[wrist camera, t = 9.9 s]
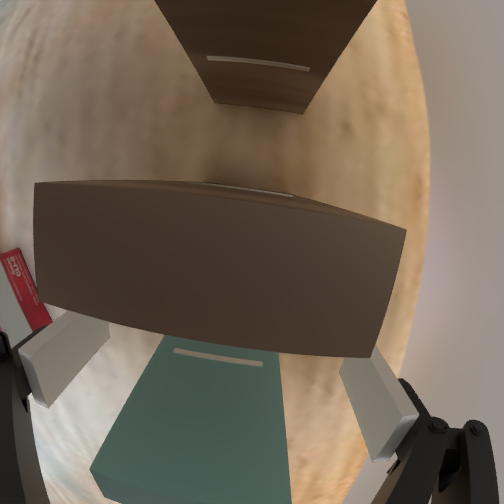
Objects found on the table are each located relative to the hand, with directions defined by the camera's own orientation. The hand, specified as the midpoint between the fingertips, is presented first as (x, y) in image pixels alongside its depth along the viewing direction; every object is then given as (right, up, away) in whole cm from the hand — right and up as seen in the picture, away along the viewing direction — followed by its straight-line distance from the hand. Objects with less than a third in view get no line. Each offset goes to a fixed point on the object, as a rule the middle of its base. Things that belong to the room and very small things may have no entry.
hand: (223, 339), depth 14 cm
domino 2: (+1, +7, +2) cm, 7 cm away
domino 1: (+2, +13, 0) cm, 13 cm away
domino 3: (0, +1, +3) cm, 4 cm away
